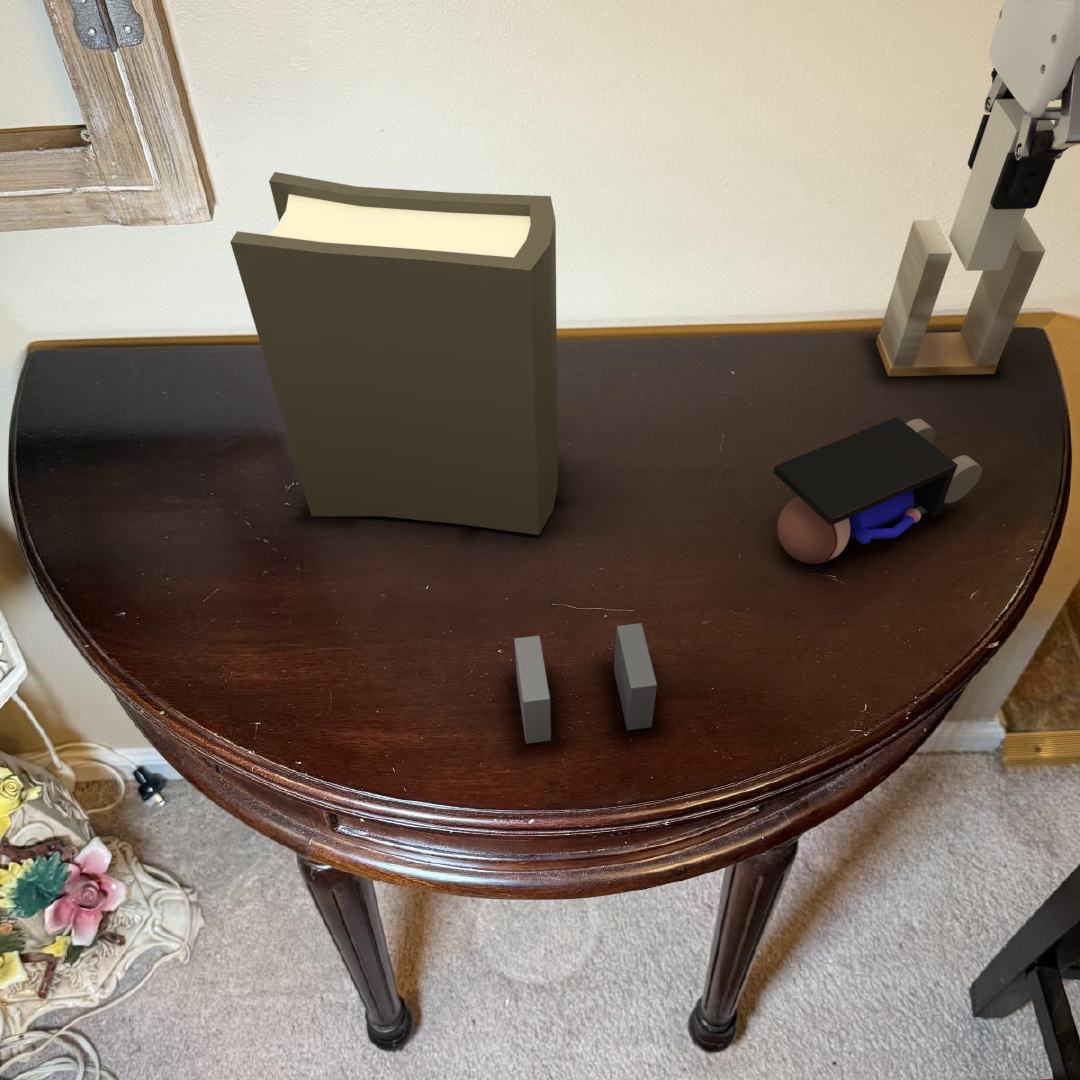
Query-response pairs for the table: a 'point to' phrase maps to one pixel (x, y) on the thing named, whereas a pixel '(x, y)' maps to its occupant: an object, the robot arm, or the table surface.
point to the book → (412, 349)
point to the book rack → (985, 319)
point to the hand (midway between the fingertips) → (1001, 184)
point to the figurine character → (867, 488)
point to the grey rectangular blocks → (629, 672)
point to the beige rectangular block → (990, 194)
